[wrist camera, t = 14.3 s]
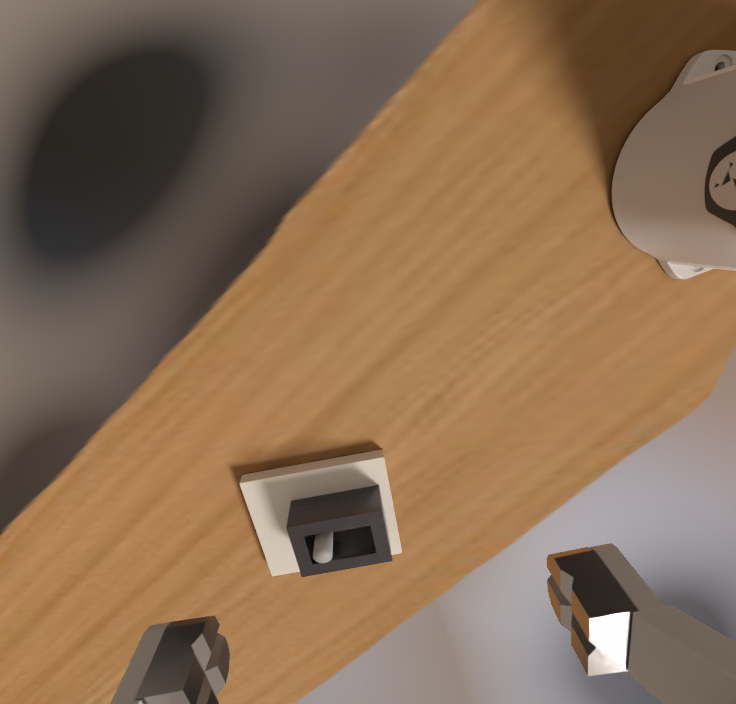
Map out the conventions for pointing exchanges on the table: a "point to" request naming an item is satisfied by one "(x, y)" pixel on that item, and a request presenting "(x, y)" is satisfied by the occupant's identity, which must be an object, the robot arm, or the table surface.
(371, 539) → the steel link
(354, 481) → the keeper plate
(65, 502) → the table surface
